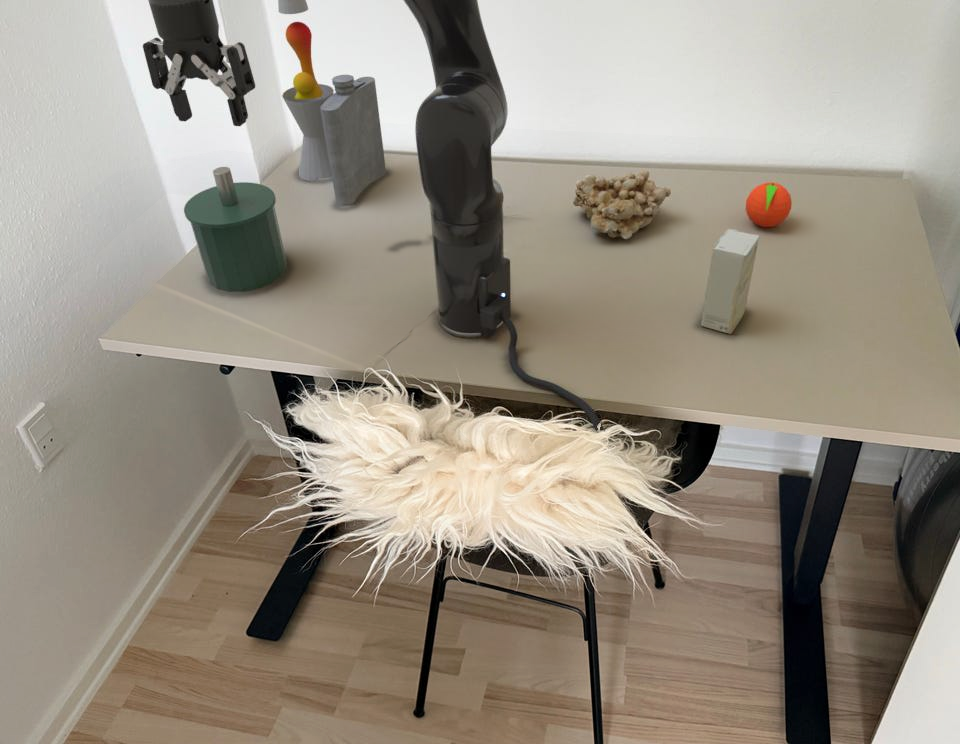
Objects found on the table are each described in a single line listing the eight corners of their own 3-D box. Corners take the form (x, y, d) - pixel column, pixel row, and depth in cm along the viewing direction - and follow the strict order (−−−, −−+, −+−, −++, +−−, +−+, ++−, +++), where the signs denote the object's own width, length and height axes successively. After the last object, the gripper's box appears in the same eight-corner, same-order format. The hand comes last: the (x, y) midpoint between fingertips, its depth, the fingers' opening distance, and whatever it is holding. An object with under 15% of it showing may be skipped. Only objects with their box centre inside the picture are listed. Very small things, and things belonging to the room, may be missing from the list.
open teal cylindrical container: (303, 264, 125) (289, 198, 117) (247, 303, 117) (228, 234, 110) (249, 245, 130) (232, 180, 123) (191, 281, 122) (170, 214, 115)
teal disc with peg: (295, 201, 118) (287, 162, 114) (230, 240, 110) (219, 199, 106) (233, 182, 124) (223, 144, 120) (167, 218, 115) (154, 178, 111)
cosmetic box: (730, 335, 106) (746, 257, 99) (698, 326, 108) (711, 248, 101) (745, 311, 110) (761, 234, 103) (714, 303, 112) (727, 226, 105)
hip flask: (349, 209, 138) (331, 95, 126) (329, 206, 139) (309, 93, 127) (389, 171, 150) (376, 62, 137) (369, 168, 151) (355, 60, 138)
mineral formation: (567, 209, 135) (649, 191, 137) (596, 259, 127) (683, 238, 129) (568, 170, 129) (654, 150, 131) (599, 219, 120) (690, 198, 122)
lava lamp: (305, 161, 154) (267, -37, 132) (350, 161, 154) (320, -38, 131) (292, 181, 148) (250, -24, 125) (339, 182, 147) (306, -25, 124)
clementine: (784, 241, 125) (793, 199, 120) (738, 234, 127) (746, 193, 122) (788, 217, 130) (798, 177, 126) (745, 211, 132) (752, 171, 128)
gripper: (111, 0, 97) (152, 128, 107) (212, 4, 94) (244, 136, 104) (148, -16, 103) (184, 108, 113) (245, -13, 99) (273, 115, 109)
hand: (213, 121), depth 108 cm, fingers open, 8 cm apart
